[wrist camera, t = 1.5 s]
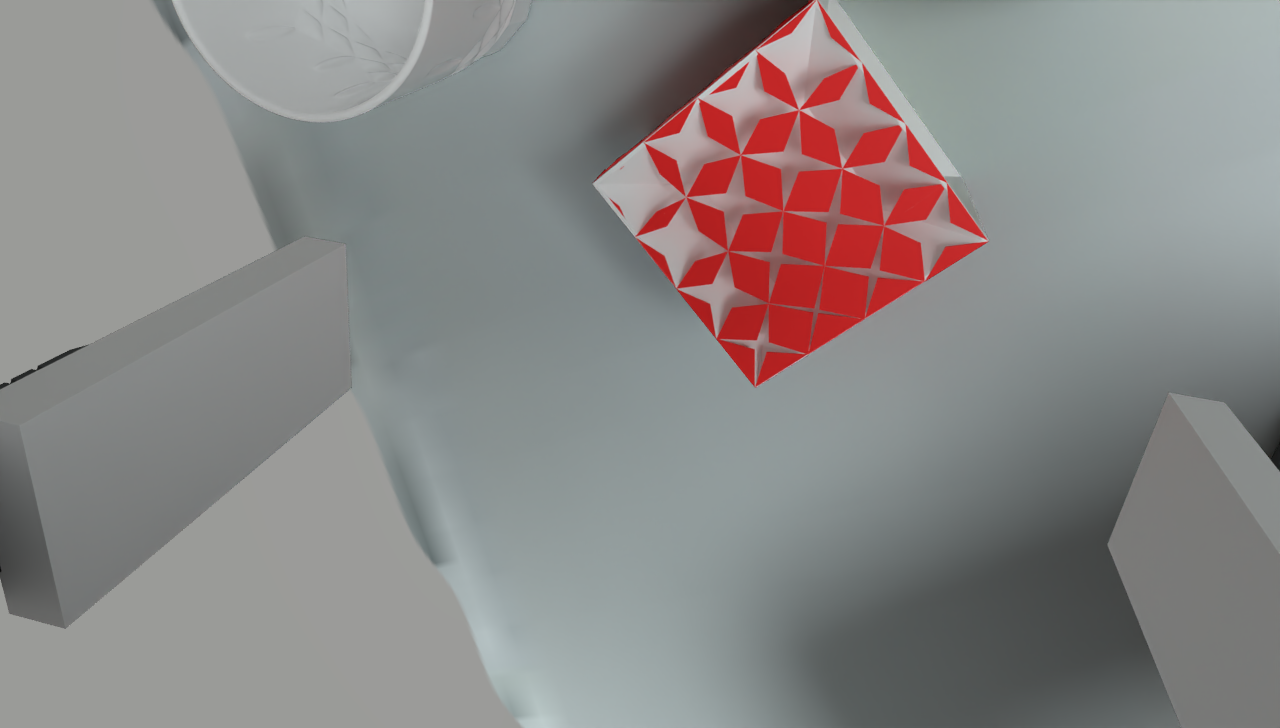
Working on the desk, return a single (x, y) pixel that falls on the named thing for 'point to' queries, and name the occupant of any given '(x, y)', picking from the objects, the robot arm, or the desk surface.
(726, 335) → the red white patterned cube
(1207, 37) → the desk surface
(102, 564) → the robot arm
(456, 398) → the desk surface
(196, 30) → the white cup
